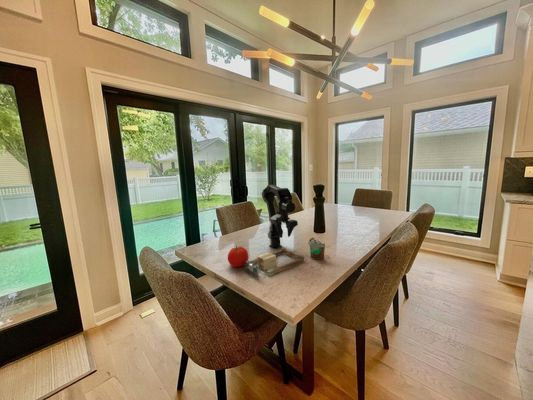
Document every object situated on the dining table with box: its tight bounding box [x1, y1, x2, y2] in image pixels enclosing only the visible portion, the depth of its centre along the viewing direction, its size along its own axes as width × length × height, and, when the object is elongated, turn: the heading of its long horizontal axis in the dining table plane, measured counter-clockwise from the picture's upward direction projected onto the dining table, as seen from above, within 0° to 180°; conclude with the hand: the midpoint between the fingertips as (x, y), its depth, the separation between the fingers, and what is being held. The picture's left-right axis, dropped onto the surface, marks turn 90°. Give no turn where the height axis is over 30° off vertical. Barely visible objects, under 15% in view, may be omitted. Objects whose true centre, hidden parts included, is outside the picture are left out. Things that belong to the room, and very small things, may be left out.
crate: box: [257, 252, 277, 272], centre depth 119 cm, size 6×8×6 cm
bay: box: [249, 247, 305, 277], centre depth 124 cm, size 18×26×3 cm
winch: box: [244, 259, 261, 278], centre depth 113 cm, size 13×6×6 cm, turn 37°
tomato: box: [227, 245, 249, 268], centre depth 122 cm, size 12×12×10 cm
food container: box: [307, 237, 326, 261], centre depth 128 cm, size 12×6×10 cm, turn 21°
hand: (283, 234), depth 133 cm, fingers open, 9 cm apart
